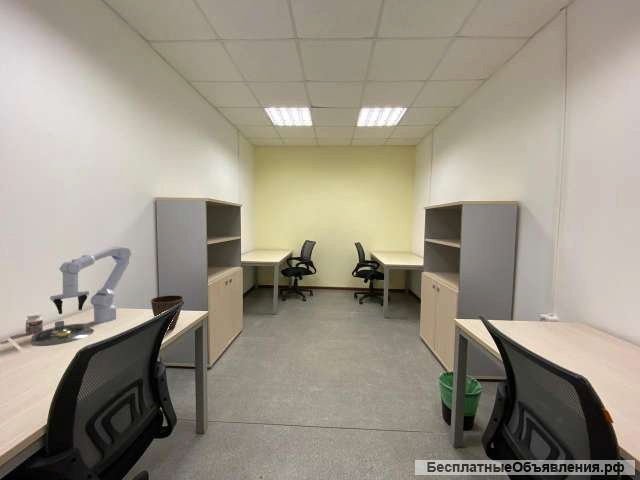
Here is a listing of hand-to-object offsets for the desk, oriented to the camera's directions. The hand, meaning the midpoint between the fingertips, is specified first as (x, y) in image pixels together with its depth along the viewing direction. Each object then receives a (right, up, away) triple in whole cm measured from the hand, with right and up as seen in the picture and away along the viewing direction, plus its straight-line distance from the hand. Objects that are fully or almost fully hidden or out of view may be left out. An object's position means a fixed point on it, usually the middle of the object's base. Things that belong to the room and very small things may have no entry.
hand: (70, 311), depth 136 cm
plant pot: (+45, -11, +8) cm, 47 cm away
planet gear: (-1, -9, -4) cm, 10 cm away
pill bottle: (-15, -11, -3) cm, 19 cm away
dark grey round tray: (+3, -11, -7) cm, 13 cm away
